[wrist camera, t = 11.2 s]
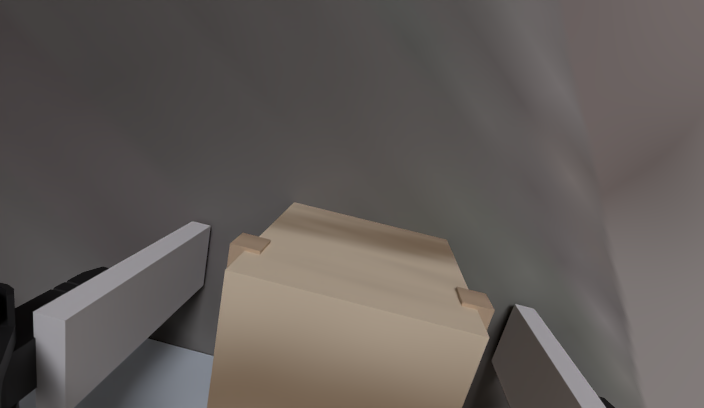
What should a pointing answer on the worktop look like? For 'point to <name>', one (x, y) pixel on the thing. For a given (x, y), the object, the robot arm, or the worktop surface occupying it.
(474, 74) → the worktop surface
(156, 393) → the pale blue open box
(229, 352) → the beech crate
